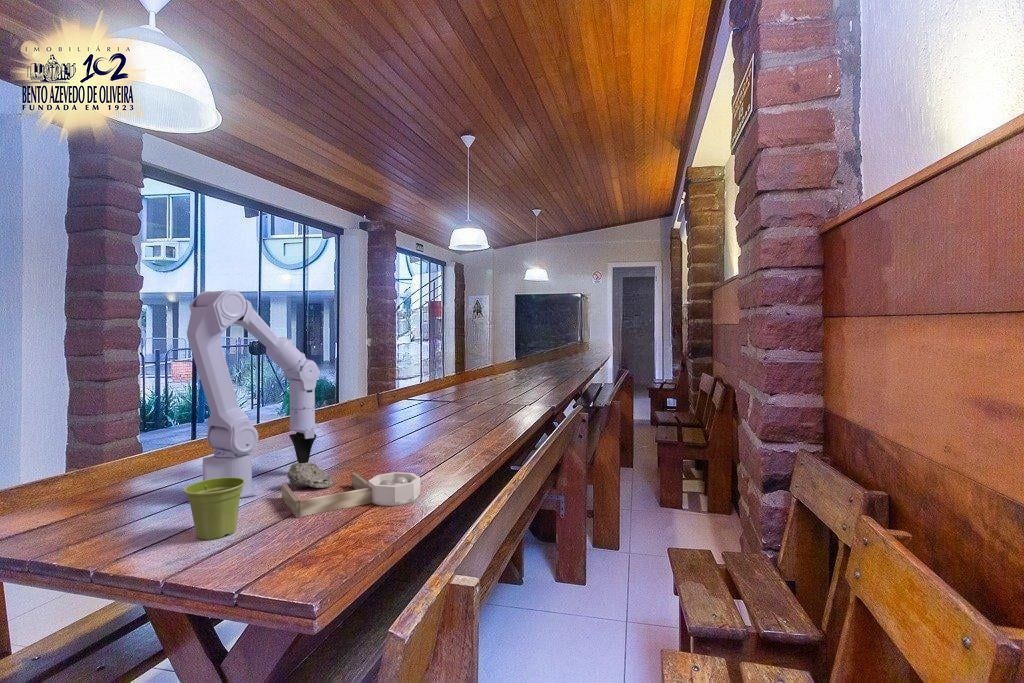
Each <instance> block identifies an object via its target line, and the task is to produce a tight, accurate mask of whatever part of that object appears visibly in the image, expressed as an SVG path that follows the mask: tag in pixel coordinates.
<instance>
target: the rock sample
mask: <svg viewBox="0 0 1024 683" xmlns="http://www.w3.org/2000/svg"><path fill="white" fill-rule="evenodd" d="M285 478H286V479H287V478H288V479H287V480H289V482H290V483H291V484H293V485H297V486H298V488H301V487H304V488H307V487H310V488H316V489H328V488H330V487H331V486H332V485H333V484H334V483H335V481H334V478H332V475H331V474H329V473H328V472H327V471H326V470H324V469H321V468H319V466H318V465H317V464H316V463H312V462H308V463H302V464H299V463H298V462H293V464H292V465H291V466H290V467H289V470H288V471H287V472H286V475H285ZM306 486H307V487H306Z"/></svg>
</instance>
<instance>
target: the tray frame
mask: <svg viewBox="0 0 1024 683" xmlns="http://www.w3.org/2000/svg"><path fill="white" fill-rule="evenodd" d="M352 486H353V487H352ZM351 487H352V488H354V489H355V490H354V489H353V490H350V491H343V492H338V493H332V494H327V495H321V496H317V497H310V498H305V499H299V498H298V497H297V495H296V494H295V493H294V492H293V491H292V489H291V488H290V487H289V485H288V484H287V483H282V484H281V499H282V500H283V502H284V501H285V502H284V503H285V504H287V505H286V506H287V508H290V509H289V510H290V512H291V511H292V512H291V513H292V515H293V516H294V517H295V518H296V519H297V518H302V516H303V517H307V515H308V516H313V515H318V514H323V513H326V512H327V513H328V512H332V510H333V511H338V510H342V508H343V509H347V508H348V509H349V508H352V507H353V508H354V507H359V506H363V505H367V504H373V503H372V488H371V487H370V486H368V480H366V479H365V478H364V477H362V476H361V475H360V474H358V473H357V472H356V471H355V472H351ZM337 509H338V510H337ZM317 513H318V514H317ZM312 514H313V515H312Z"/></svg>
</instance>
